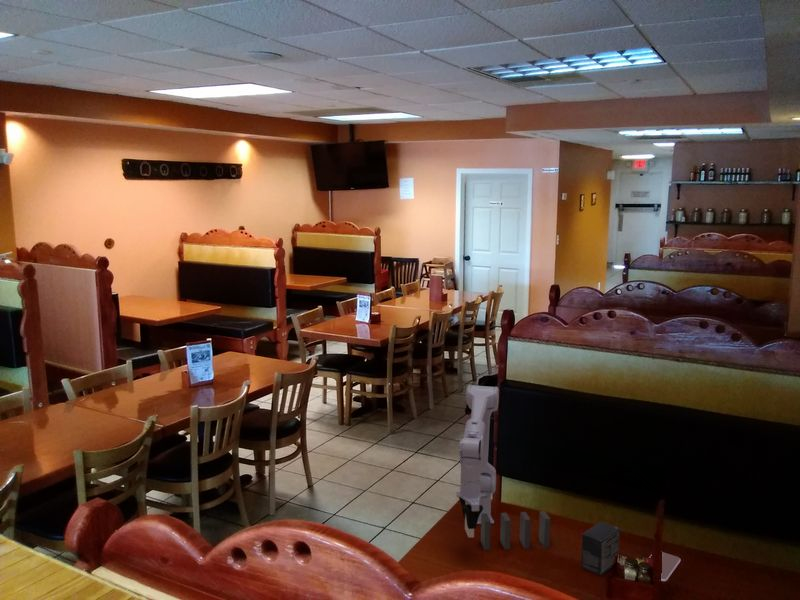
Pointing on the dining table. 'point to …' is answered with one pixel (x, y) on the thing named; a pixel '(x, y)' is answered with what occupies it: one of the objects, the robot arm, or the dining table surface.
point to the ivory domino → (469, 531)
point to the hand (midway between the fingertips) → (469, 523)
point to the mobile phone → (668, 565)
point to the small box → (600, 547)
